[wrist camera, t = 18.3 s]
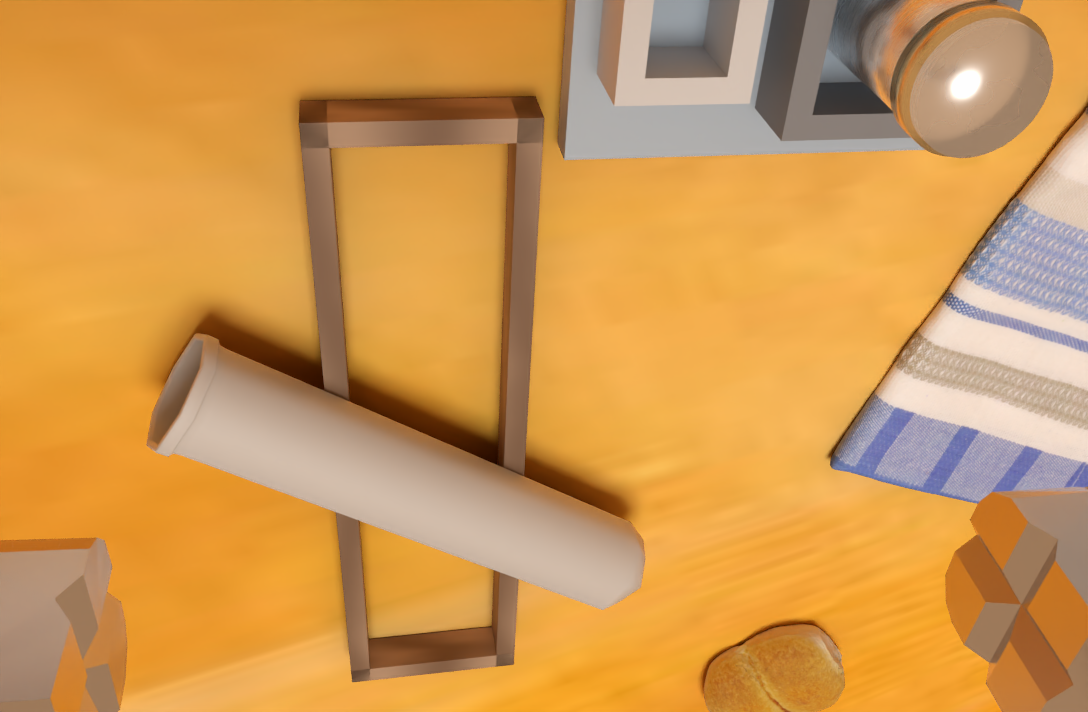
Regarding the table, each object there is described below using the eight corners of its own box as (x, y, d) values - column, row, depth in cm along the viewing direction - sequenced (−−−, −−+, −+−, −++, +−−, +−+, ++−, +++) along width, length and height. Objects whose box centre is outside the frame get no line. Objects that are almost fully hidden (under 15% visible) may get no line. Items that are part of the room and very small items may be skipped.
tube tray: (351, 652, 59) (352, 682, 57) (299, 100, 39) (299, 123, 37) (508, 636, 60) (513, 664, 59) (535, 96, 40) (544, 117, 39)
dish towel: (1354, 171, 51) (1401, 198, 48) (1044, 506, 62) (1070, 540, 60) (1108, 50, 44) (1149, 75, 42) (813, 449, 56) (834, 485, 54)
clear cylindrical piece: (786, 44, 39) (882, 141, 33) (851, -82, 37) (968, -5, 30) (888, 80, 41) (999, 179, 34) (956, -39, 38) (1090, 43, 32)
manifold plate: (557, 143, 42) (579, 196, 38) (578, -188, 35) (608, -160, 31) (923, 134, 44) (974, 182, 41) (1013, -176, 37) (1085, -149, 34)
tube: (682, 554, 51) (212, 356, 39) (627, 642, 52) (147, 473, 40) (635, 505, 56) (201, 314, 44) (584, 586, 57) (144, 420, 45)
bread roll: (677, 669, 65) (694, 725, 62) (800, 601, 63) (825, 655, 60) (736, 721, 70) (755, 775, 67) (853, 659, 68) (878, 712, 65)
